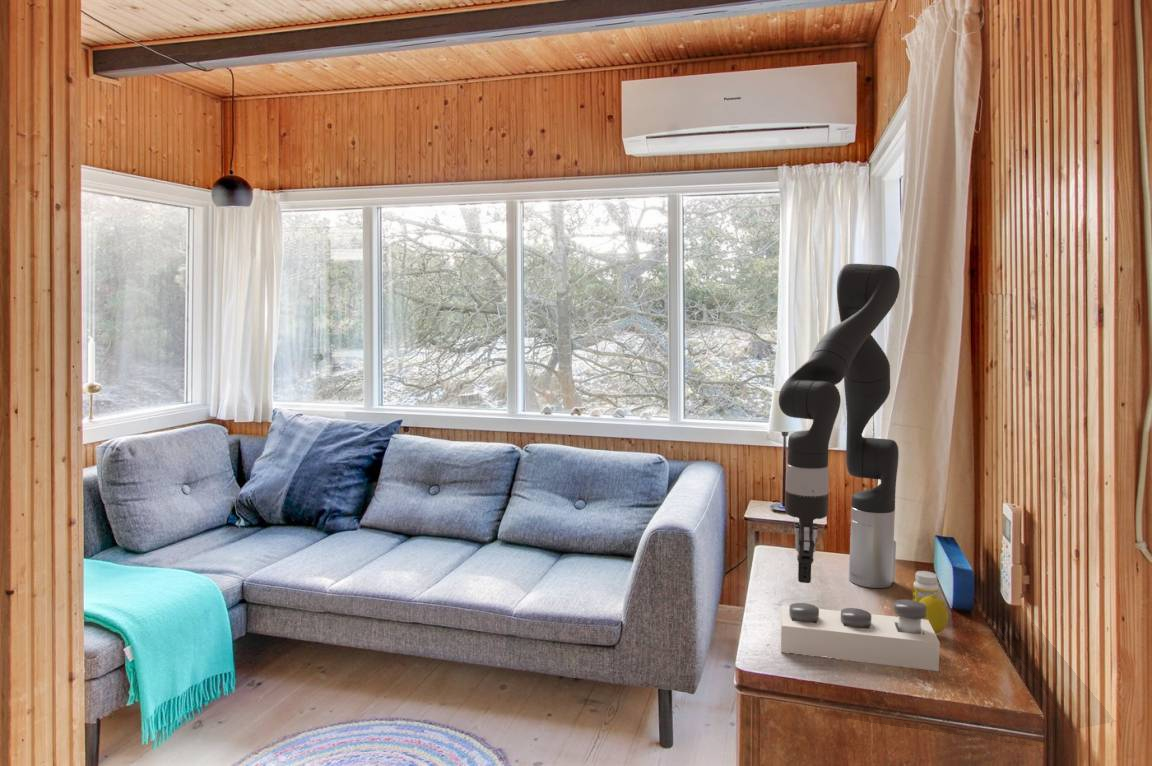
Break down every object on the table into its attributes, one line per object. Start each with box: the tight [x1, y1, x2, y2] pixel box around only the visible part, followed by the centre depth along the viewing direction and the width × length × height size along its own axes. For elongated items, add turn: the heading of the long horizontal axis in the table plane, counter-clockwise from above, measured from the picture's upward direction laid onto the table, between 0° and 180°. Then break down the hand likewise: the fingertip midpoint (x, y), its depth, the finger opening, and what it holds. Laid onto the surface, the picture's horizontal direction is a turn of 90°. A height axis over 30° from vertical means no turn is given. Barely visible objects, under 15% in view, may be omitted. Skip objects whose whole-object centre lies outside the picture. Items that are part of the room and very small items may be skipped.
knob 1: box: [789, 602, 820, 623], centre depth 135 cm, size 5×5×6 cm
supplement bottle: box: [912, 570, 940, 602], centre depth 149 cm, size 5×5×8 cm
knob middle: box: [840, 607, 872, 629], centre depth 133 cm, size 5×5×6 cm
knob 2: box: [893, 598, 926, 634], centre depth 130 cm, size 5×5×6 cm
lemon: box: [919, 595, 949, 635], centre depth 139 cm, size 6×6×8 cm
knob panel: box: [780, 604, 941, 672], centre depth 133 cm, size 26×10×5 cm, turn 75°
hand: (804, 581), depth 135 cm, fingers closed
